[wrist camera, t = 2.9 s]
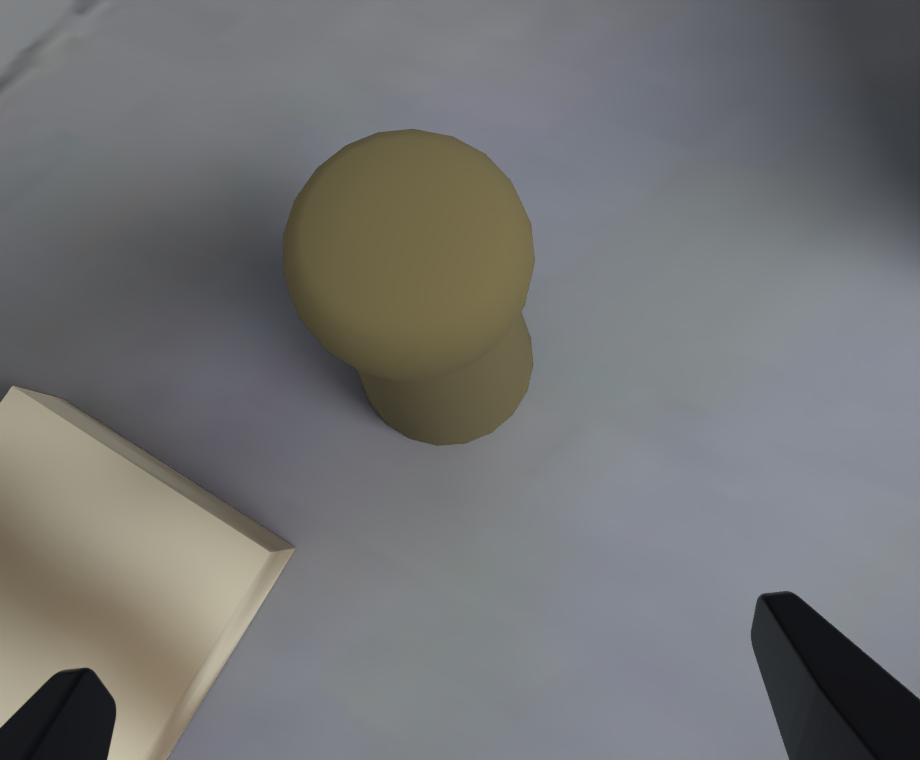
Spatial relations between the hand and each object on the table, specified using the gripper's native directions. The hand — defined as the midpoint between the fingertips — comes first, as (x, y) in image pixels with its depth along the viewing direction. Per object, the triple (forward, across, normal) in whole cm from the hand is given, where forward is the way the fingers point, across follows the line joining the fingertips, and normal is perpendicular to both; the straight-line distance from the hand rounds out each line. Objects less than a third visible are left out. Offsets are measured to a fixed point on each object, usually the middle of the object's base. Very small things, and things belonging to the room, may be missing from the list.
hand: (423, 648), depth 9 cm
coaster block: (+9, +13, +9) cm, 18 cm away
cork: (+14, 0, +4) cm, 15 cm away
